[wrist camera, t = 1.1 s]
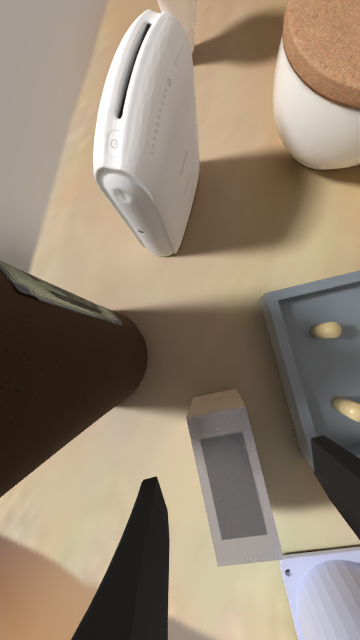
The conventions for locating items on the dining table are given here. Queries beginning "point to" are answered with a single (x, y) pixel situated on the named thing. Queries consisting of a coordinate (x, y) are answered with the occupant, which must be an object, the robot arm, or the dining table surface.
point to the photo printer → (150, 132)
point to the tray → (319, 358)
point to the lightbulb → (182, 15)
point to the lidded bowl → (319, 83)
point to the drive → (232, 480)
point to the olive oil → (57, 369)
